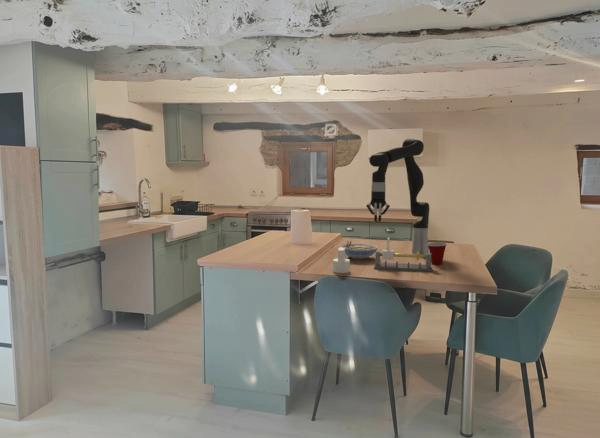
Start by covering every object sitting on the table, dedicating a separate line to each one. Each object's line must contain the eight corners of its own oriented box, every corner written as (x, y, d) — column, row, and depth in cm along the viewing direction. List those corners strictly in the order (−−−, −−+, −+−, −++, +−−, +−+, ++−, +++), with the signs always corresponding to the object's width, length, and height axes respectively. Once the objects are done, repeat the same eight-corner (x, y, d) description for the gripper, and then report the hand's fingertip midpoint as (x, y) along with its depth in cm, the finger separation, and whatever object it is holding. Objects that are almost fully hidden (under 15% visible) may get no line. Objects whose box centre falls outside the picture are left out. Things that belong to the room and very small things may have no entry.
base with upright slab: (349, 273, 232) (349, 250, 231) (332, 272, 234) (332, 250, 232) (350, 269, 241) (350, 247, 240) (333, 268, 243) (333, 247, 241)
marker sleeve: (382, 259, 244) (382, 238, 243) (382, 257, 249) (383, 237, 248) (393, 259, 243) (393, 238, 242) (393, 258, 248) (394, 237, 246)
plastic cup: (425, 261, 262) (426, 241, 261) (444, 262, 260) (445, 241, 259) (427, 265, 251) (427, 244, 250) (447, 266, 249) (448, 245, 248)
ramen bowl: (377, 263, 256) (377, 249, 255) (337, 261, 261) (337, 248, 260) (378, 255, 281) (378, 242, 280) (342, 253, 285) (342, 241, 284)
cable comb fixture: (374, 268, 242) (374, 253, 241) (375, 264, 254) (375, 249, 253) (431, 271, 236) (432, 255, 235) (430, 267, 247) (430, 251, 246)
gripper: (365, 190, 241) (364, 222, 243) (390, 191, 238) (390, 223, 240) (366, 190, 248) (365, 221, 250) (391, 190, 245) (390, 221, 247)
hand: (377, 222), depth 245 cm, fingers closed
